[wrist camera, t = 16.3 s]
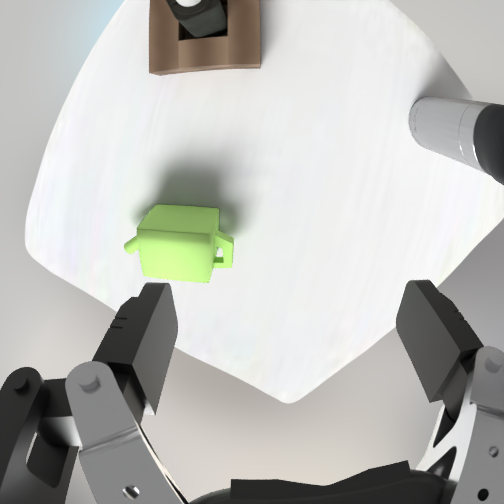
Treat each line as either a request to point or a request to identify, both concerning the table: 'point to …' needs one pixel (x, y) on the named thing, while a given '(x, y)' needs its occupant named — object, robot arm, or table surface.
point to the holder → (204, 40)
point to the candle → (200, 17)
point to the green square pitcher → (181, 243)
